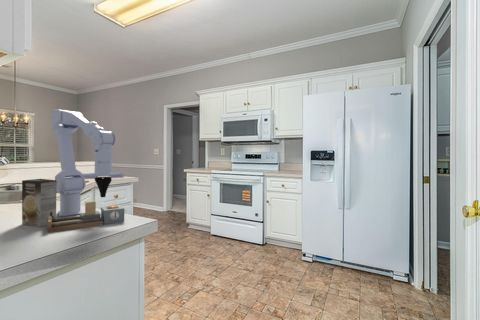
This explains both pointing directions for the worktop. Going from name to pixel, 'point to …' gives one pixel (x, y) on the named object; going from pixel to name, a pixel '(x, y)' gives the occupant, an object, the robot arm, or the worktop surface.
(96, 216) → the carriage
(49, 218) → the track
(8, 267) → the worktop surface
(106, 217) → the end cabinet
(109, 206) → the button
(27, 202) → the coffee box
